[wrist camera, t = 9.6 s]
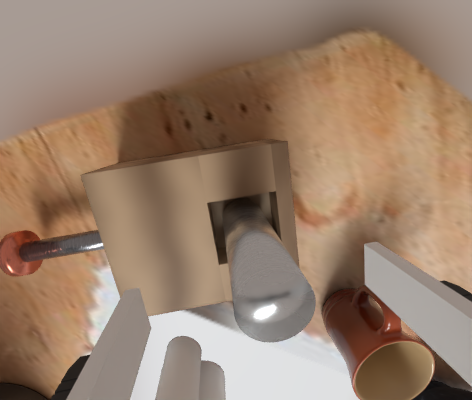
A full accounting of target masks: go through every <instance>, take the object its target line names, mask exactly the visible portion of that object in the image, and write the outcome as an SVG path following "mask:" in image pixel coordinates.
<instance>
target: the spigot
mask: <svg viewBox="0 0 472 400" xmlns="http://www.w3.org/2000/svg"><path fill="white" fill-rule="evenodd" d="M222 219H223V227H224V235H225V243H226V251H227V259H228V267H229V275H230V283H231V291H232V299H233V307H234V315H235V319H236V322H237V324H238V326H239V328H240V329H241V330H242V331H243V332H244V333H245V334H246V335H248V336H249V337H251V338H253V339H255V340H258V341H262V342H279V341H283V340H286V339H289V338H291V337H293V336H295V335H296V334H298V333H299V332H301V331H302V330H303V329H304V328H305V327H306V326H307V324H308V323H309V322H310V320H311V318H312V316H313V314H314V310H315V305H316V303H315V295H314V292H313V289H312V287H311V286H310V284H309V283H308V281H307V280H306V278H305V277H304V275H303V274H302V272H301V271H300V269H299V267H298V266H297V264H296V263H295V261H294V260H293V258H292V257H291V255H290V254H289V252H288V251H287V249H286V248H285V246H284V245H283V243H282V242H281V240H280V238H279V237H278V235H277V234H276V232H275V231H274V229H273V228H272V226H271V225H270V223H269V222H268V220H267V219H266V217H265V216H264V214H263V213H262V211H261V209H260V208H259V206H258V205H257V204H256V203H255V202H254V201H252V200H250V199H247V198H238V199H235V200H233V201H231V202H230V203H229V204H227V206H226V207H225V209H224V211H223V215H222Z"/></svg>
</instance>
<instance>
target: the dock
mask: <svg viewBox="0 0 472 400" xmlns="http://www.w3.org/2000/svg"><path fill="white" fill-rule="evenodd" d="M80 176H81V179H82V182H83V185H84V188H85V191H86V194H87V197H88V200H89V203H90V206H91V209H92V212H93V215H94V218H95V221H96V225H97V228H98V231H99V234H100V237H101V240H102V243H103V246H104V249H105V252H106V255H107V258H108V261H109V264H110V267H111V270H112V274H113V277H114V280H115V283H116V286H117V289H118V292H119V295H120V298H121V297H122V295H123V293H124V292H125V290H129V289H134V288H139V289H140V292H141V295H142V299H143V302H144V306H145V309H146V312H147V316H153V315H158V314H163V313H169V312H174V311H180V310H185V309H190V308H195V307H201V306H206V305H211V304H217V303H222V302H227V301H233V299H232V291H231V283H230V275H229V267H228V259H227V251H226V243H225V235H224V227H223V219H222V215H223V211H224V209H225V207H226V206H227V204H229V203H230V202H231V201H233V200H235V199H238V198H247V199H250V200H252V201H254V202H255V203H256V204H257V205H258V206H259V208H260V209H261V211H262V213H263V214H264V216H265V217H266V219H267V220H268V222H269V223H270V225H271V226H272V228H273V229H274V231H275V232H276V234H277V235H278V237H279V238H280V240H281V242H282V243H283V245H284V246H285V248H286V249H287V251H288V252H289V254H290V255H291V257H292V258H293V260H294V261H295V263H296V264H297V266H298V267H299V259H298V248H297V237H296V227H295V216H294V206H293V195H292V184H291V174H290V163H289V153H288V142H287V141H280V140H272V139H264V140H258V141H252V142H246V143H239V144H233V145H227V146H221V147H215V148H208V149H202V150H196V151H190V152H184V153H177V154H171V155H165V156H159V157H153V158H147V159H140V160H134V161H128V162H122V163H117V164H114V165H110V166H107V167H104V168H101V169H98V170H95V171H92V172H89V173H85V174H82V175H80Z"/></svg>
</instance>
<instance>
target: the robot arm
mask: <svg viewBox="0 0 472 400" xmlns="http://www.w3.org/2000/svg"><path fill="white" fill-rule="evenodd" d="M364 262H365V285H366V286H367V287H368V288H369V289H370V290H371V291H372V292H373V293H374V294H375V295H377V296H378V297H379V298H380V299H381V300H382V301H383V302H384V303H385V304H386V305H387V306H388V307H389V308H390V309H391V310H392V311H393V312H394V313H395V314H396V315H397V316H398V317H399V318H401V319H402V320H403V321H404V322H405V323H406V324H407V325H408V326H409V327H410V328H411V329H412V330H413V331H414V332H415V333H416V334H417V335H418V336H419V337H420V338H421V339H422V340H423V341H425V342H426V343H427V344H428V345H429V346H430V347H431V348H432V349H433V350H434V351H435V352H436V353H437V354H438V355H439V356H440V357H441V358H442V359H443V360H444V361H445V362H446V363H447V364H449V365H450V366H451V367H452V368H453V369H454V370H455V371H456V372H457V373H458V374H459V375H460V376H461V377H462V378H463V379H464V380H465V381H466V382H467V383H468V384H469V385H470V386H471V387H472V294H471V293H470V292H468V291H466V290H465V289H463V288H461V287H460V286H458V285H455V284H452V283H450V282H447V281H438V280H436V279H435V278H433V277H432V276H430V275H429V274H427V273H425V272H424V271H422V270H421V269H419V268H418V267H416V266H414V265H413V264H411V263H410V262H408V261H407V260H405V259H403V258H402V257H400V256H399V255H397V254H395V253H394V252H392V251H391V250H389V249H388V248H386V247H384V246H383V245H381V244H380V243H378V242H377V241H376V242H371V243H366V244H364ZM150 330H151V326H150V323H149V319H148V316H147V312H146V309H145V306H144V302H143V299H142V295H141V292H140V289H139V288H134V289H129V290H125V292H124V293H123V295H122V297H121V299H120V301H119V303H118V305H117V306H116V308H115V310H114V312H113V314H112V316H111V317H110V319H109V321H108V323H107V325H106V327H105V329H104V330H103V332H102V334H101V336H100V338H99V340H98V342H97V343H96V345H95V347H94V349H93V351H92V353H91V355H87V356H82V357H80V358H79V359H78V360H77V361H76V362H75V363H74V364H73V365H72V366H71V367H70V368H69V369H68V371H67V373H66V374H65V376H64V378H63V379H62V381H61V384H59V386H58V388H57V389H56V391H55V395H53V396H52V398H51V399H50V400H130V397H131V394H132V390H133V387H134V384H135V380H136V377H137V374H138V370H139V367H140V363H141V360H142V357H143V354H144V350H145V347H146V344H147V340H148V337H149V334H150ZM0 400H47V399H46V398H45V397H43V396H42V395H40V394H39V393H37V392H35V391H33V390H31V389H28V388H25V387H22V386H19V385H14V384H8V383H0Z"/></svg>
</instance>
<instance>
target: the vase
mask: <svg viewBox="0 0 472 400" xmlns="http://www.w3.org/2000/svg"><path fill="white" fill-rule="evenodd" d="M225 399H226V398H225V377H224V371H223V370H222V368H221V367H220V366H219V365H217V364H216V363H214V362H210V361H201V347H200V345H199V344H198V342H197V341H195V340H194V339H192V338H190V337H186V336H180V337H176V338H174V339H172V340H171V341H170V342H169V344H168V346H167V351H166V355H165V360H164V364H163V368H162V371H161V375H160V380H159V385H158V389H157V394H156V398H155V400H225Z"/></svg>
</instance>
